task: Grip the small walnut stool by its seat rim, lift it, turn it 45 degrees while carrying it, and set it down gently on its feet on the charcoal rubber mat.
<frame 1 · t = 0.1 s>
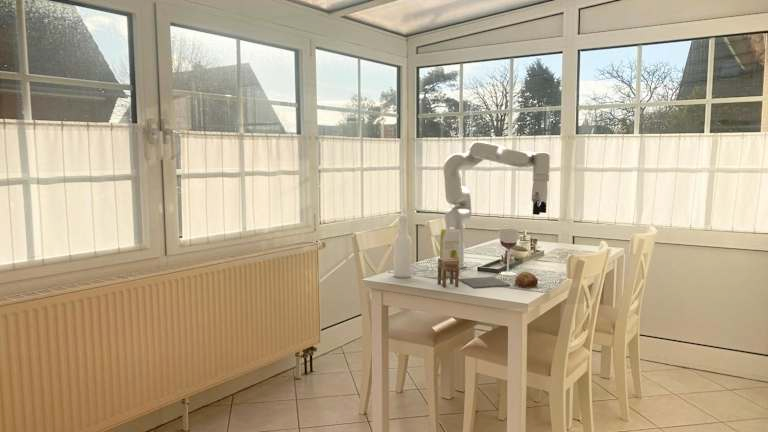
hand: (539, 213, 272), 31 cm above the table, tool pointing down, fingers open, 9 cm apart
wineglass: (507, 273, 284), on the table
stool: (447, 285, 258), on the table
alcohol: (402, 276, 277), on the table
mat: (483, 282, 263), on the table
juice carton: (449, 275, 279), on the table
bread roll: (526, 285, 259), on the table
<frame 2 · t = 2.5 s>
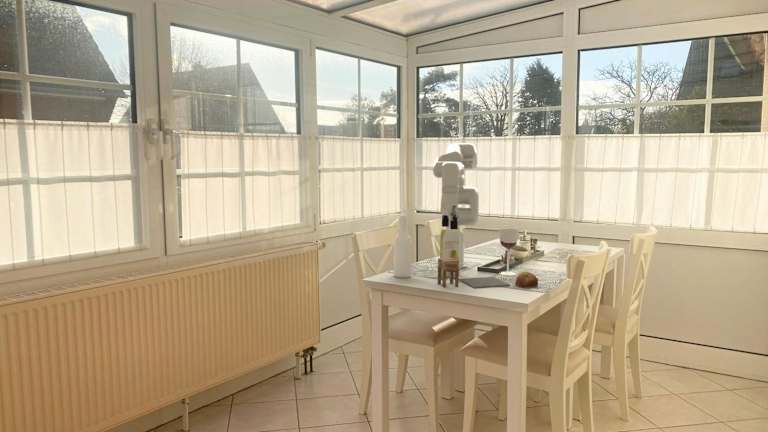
hand: (449, 227, 255), 26 cm above the table, tool pointing down, fingers open, 9 cm apart
nothing on the table moved.
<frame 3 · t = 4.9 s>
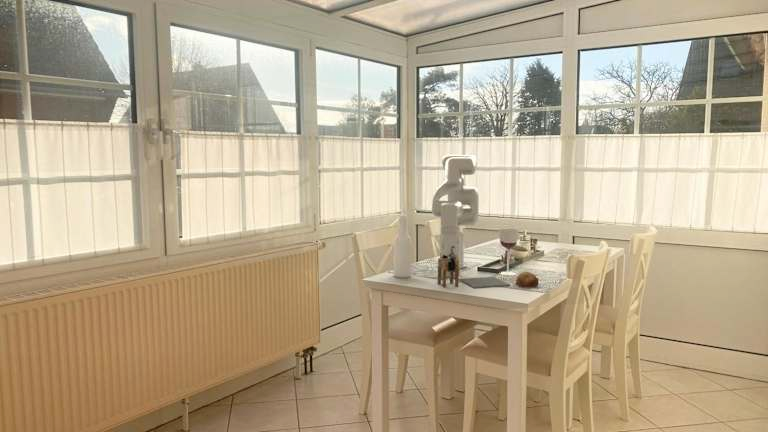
hand: (448, 268, 257), 8 cm above the table, tool pointing down, fingers closed on stool, 7 cm apart
stool: (447, 285, 258), on the table, touching gripper
everything else where it was.
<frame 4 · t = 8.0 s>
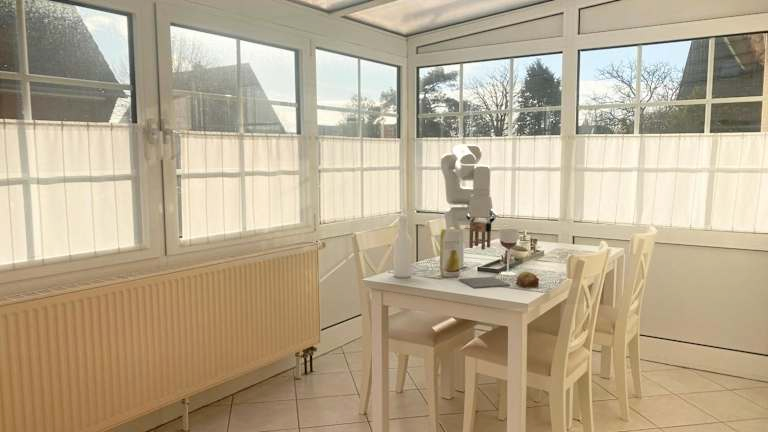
hand: (480, 230, 260), 25 cm above the table, tool pointing down, fingers closed on stool, 7 cm apart
stool: (479, 247, 261), point 17 cm above the table, touching gripper
everything else where it was.
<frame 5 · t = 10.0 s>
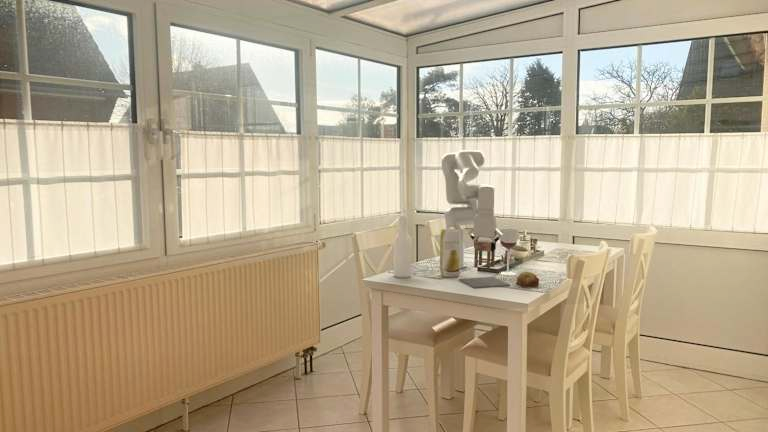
hand: (484, 250, 261), 15 cm above the table, tool pointing down, fingers closed on stool, 7 cm apart
stool: (484, 266, 262), point 8 cm above the table, touching gripper
everything else where it was.
when the fingers open (10 cm above the table, at t = 11.6 s): stool drops 2 cm, resting on mat.
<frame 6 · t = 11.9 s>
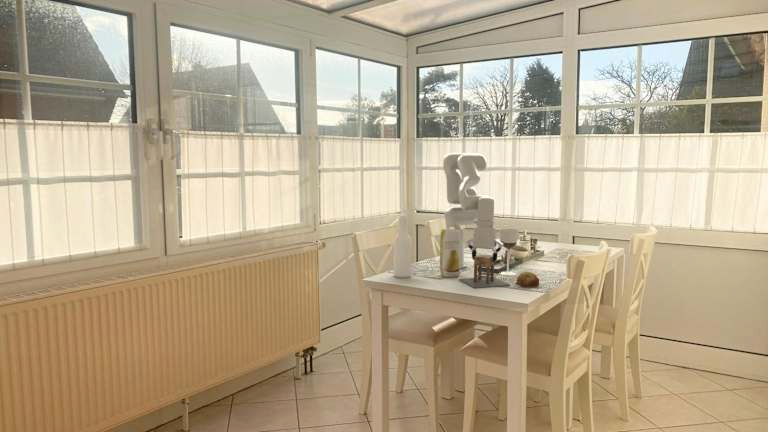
hand: (484, 260, 262), 11 cm above the table, tool pointing down, fingers open, 9 cm apart
stool: (483, 281, 263), point 1 cm above the table, touching mat
everything else where it was.
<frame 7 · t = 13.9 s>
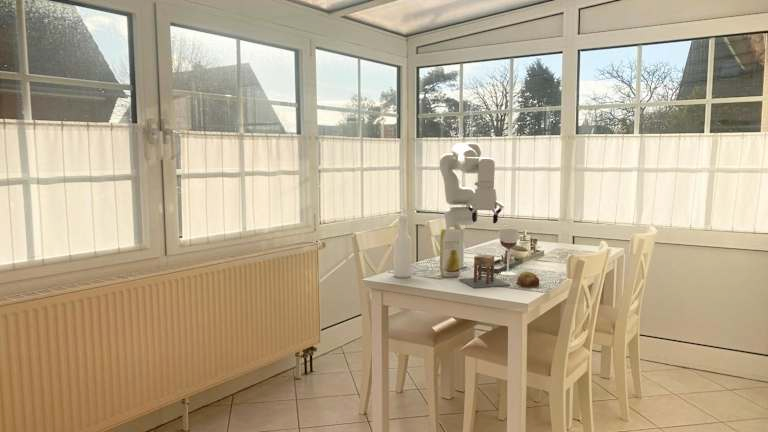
hand: (484, 222, 260), 28 cm above the table, tool pointing down, fingers open, 9 cm apart
nothing on the table moved.
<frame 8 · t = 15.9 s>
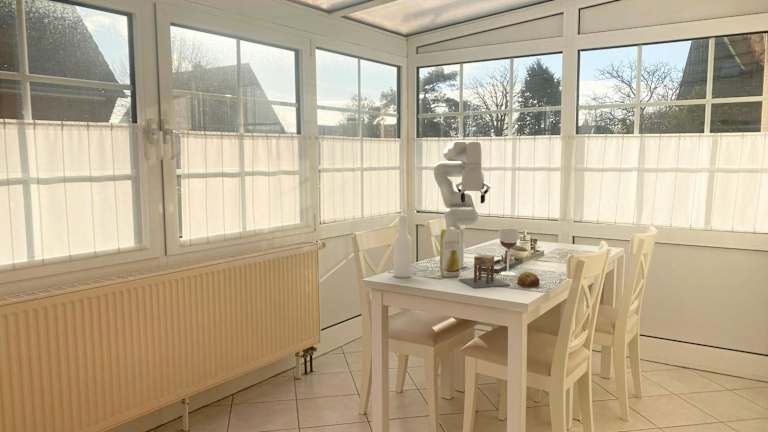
hand: (472, 202, 272), 36 cm above the table, tool pointing down, fingers open, 9 cm apart
at the end: stool inside the target area on the mat (0.1 cm from its centre), point 0.6 cm above the mat's base; stool tilted 0°; the gripper is holding nothing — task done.
